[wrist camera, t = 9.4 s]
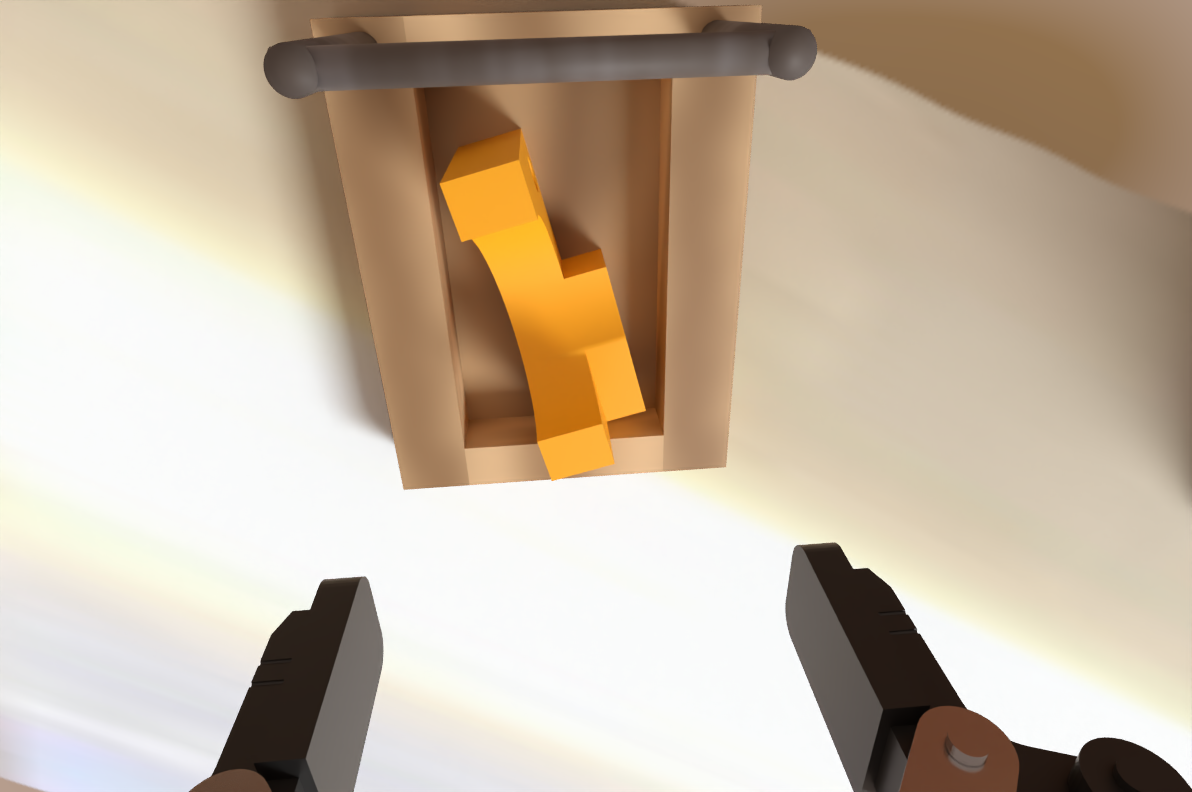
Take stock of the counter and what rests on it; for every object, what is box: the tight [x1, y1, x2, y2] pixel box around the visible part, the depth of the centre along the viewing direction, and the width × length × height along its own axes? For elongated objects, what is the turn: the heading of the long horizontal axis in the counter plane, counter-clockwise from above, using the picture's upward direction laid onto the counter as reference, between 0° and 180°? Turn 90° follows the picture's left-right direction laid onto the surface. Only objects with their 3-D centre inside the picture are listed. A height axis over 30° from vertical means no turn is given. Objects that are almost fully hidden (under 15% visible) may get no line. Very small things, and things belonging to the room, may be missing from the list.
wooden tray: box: [264, 5, 817, 490], centre depth 26 cm, size 15×19×11 cm
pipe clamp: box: [440, 128, 646, 481], centre depth 27 cm, size 12×4×6 cm, turn 15°
